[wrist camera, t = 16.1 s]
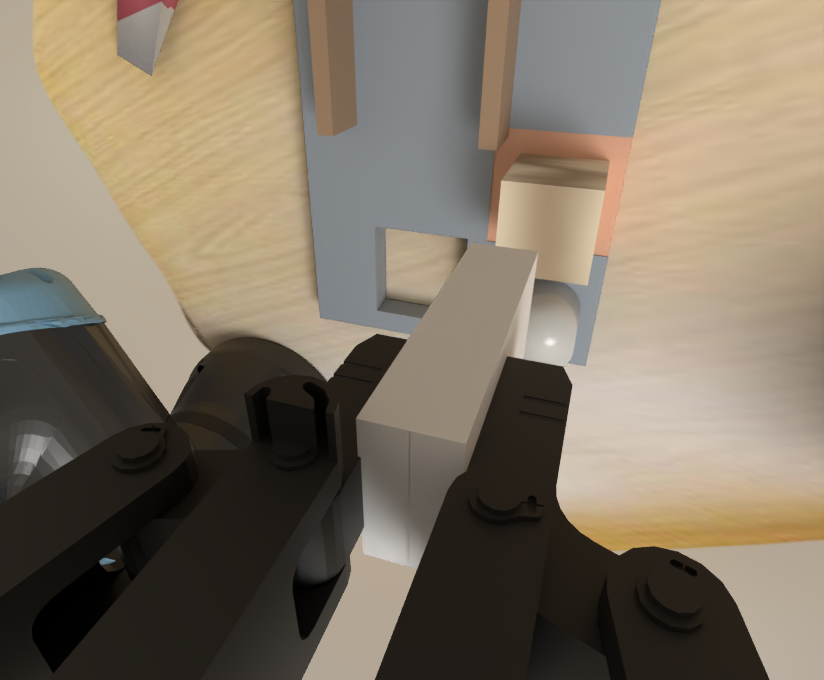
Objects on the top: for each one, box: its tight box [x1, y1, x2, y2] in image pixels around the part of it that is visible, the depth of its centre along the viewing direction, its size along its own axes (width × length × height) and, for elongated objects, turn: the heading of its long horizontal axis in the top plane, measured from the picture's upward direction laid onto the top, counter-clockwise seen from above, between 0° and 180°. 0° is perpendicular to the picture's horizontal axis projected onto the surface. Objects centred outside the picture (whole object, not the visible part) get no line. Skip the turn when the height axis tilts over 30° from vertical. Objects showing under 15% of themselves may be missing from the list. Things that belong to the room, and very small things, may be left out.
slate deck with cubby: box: [293, 0, 661, 366], centre depth 33 cm, size 20×29×6 cm
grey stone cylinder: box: [523, 280, 581, 367], centre depth 35 cm, size 4×4×5 cm
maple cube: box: [495, 153, 610, 286], centre depth 31 cm, size 5×5×6 cm
